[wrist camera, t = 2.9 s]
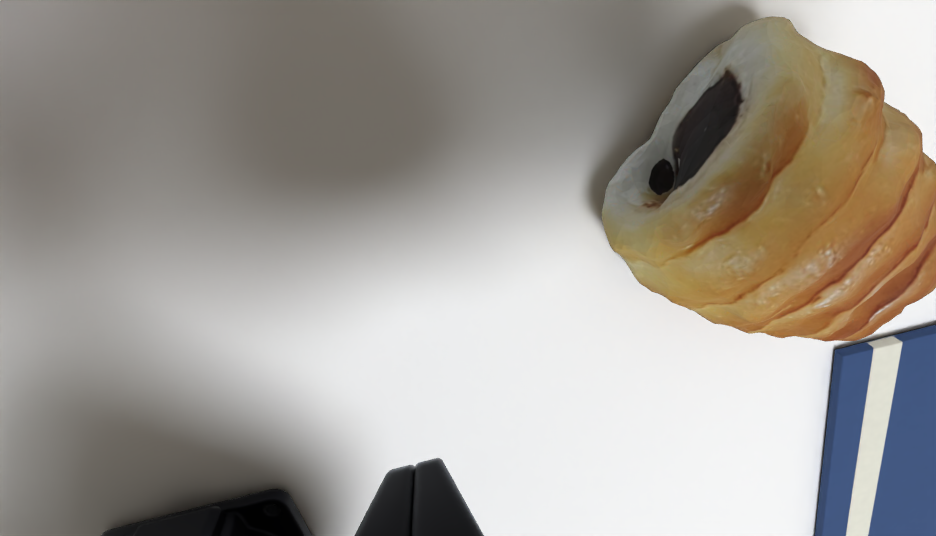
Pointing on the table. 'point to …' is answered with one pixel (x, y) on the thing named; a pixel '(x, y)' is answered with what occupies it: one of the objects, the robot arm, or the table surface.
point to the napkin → (881, 439)
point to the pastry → (780, 193)
